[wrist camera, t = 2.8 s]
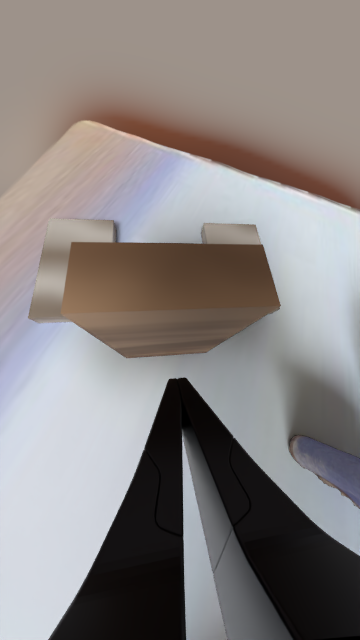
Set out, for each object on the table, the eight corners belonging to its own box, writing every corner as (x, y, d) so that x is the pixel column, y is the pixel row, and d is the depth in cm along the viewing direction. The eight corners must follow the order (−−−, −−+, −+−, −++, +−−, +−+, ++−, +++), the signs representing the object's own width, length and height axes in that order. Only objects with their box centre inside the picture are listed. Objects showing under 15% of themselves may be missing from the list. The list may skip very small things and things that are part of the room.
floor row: (272, 318, 20) (281, 313, 19) (37, 329, 17) (26, 324, 16) (250, 233, 24) (255, 224, 23) (56, 229, 21) (49, 218, 20)
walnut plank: (205, 352, 18) (280, 305, 7) (126, 358, 17) (60, 313, 6) (202, 325, 19) (262, 244, 8) (126, 328, 18) (71, 241, 7)
